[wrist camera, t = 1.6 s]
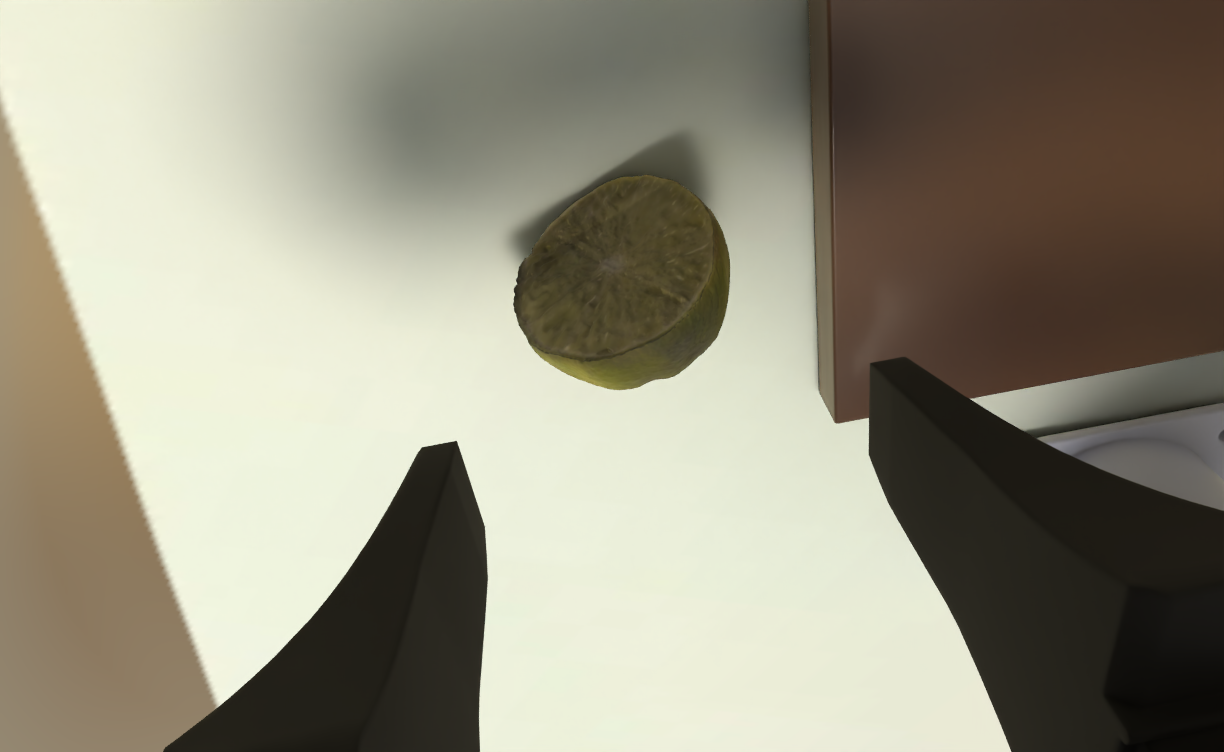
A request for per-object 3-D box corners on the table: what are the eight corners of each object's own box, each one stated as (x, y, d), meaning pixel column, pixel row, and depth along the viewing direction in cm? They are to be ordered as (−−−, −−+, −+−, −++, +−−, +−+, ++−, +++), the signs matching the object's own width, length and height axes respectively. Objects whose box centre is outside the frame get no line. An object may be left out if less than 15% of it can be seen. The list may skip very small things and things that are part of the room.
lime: (497, 288, 23) (497, 401, 19) (576, 116, 21) (595, 202, 16) (651, 344, 24) (683, 460, 20) (740, 189, 22) (796, 284, 18)
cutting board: (1433, 278, 26) (1490, 309, 24) (818, 394, 26) (838, 432, 24) (1806, -621, 16) (1943, -662, 14) (794, -428, 16) (825, -449, 14)
